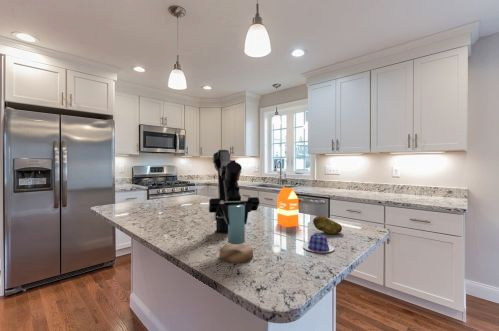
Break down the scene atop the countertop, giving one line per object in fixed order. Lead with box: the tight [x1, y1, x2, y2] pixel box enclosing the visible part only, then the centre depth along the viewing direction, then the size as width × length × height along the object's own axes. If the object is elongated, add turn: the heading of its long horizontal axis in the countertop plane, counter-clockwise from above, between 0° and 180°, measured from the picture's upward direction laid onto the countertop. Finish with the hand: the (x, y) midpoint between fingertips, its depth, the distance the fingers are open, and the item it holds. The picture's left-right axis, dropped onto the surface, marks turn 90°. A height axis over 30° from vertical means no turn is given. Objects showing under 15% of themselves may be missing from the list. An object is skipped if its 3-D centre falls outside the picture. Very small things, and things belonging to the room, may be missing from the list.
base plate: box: [219, 243, 254, 264], centre depth 91 cm, size 12×12×2 cm
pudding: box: [302, 233, 335, 254], centre depth 99 cm, size 12×12×5 cm
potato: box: [312, 215, 343, 235], centre depth 120 cm, size 8×13×8 cm, turn 63°
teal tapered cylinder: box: [227, 204, 246, 245], centre depth 91 cm, size 6×6×13 cm
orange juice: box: [276, 186, 300, 228], centre depth 137 cm, size 8×9×20 cm
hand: (237, 224), depth 89 cm, fingers closed on teal tapered cylinder, 6 cm apart
